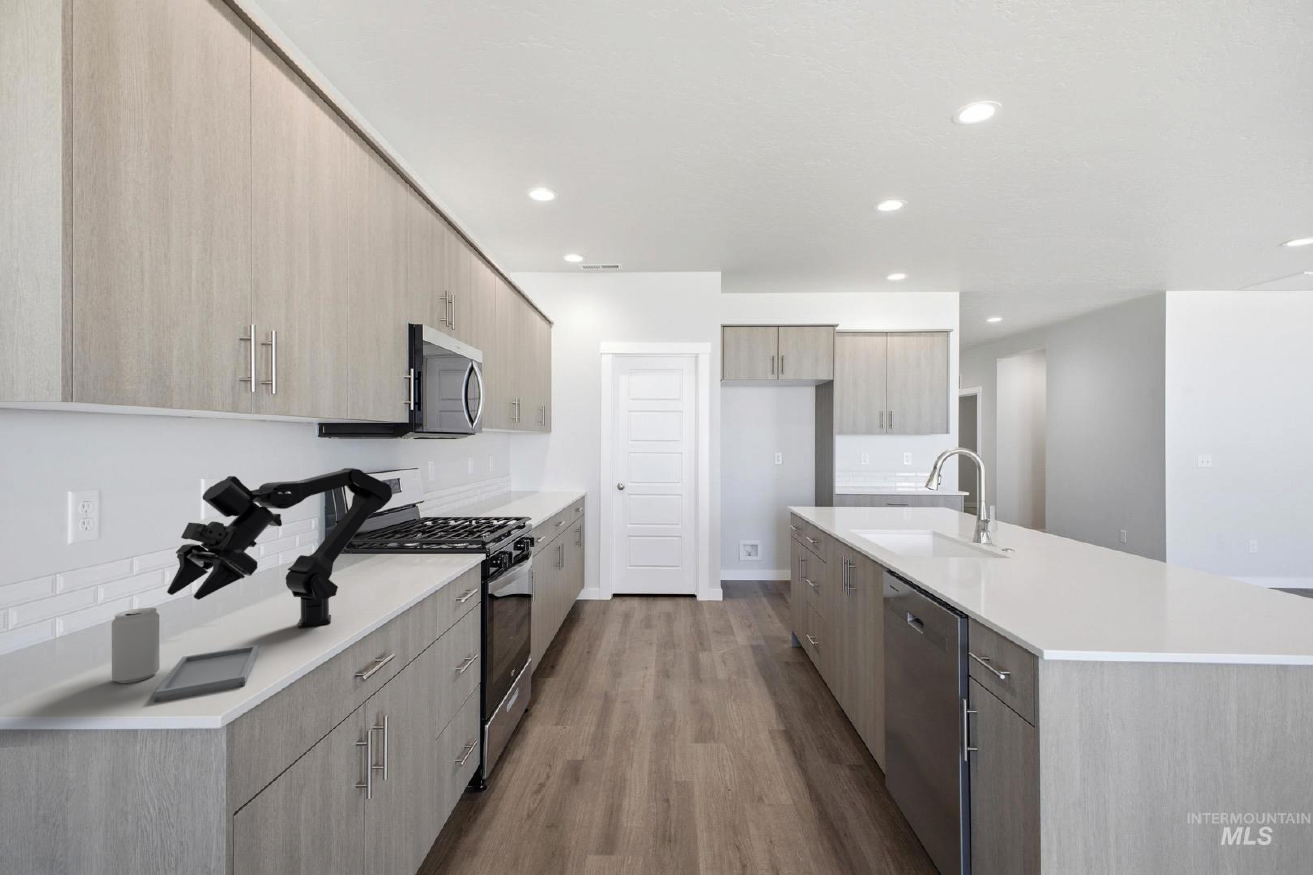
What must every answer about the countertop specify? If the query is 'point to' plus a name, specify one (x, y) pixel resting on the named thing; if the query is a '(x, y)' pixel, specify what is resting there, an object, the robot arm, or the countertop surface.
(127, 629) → the beverage can
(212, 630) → the countertop surface
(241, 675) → the tray
